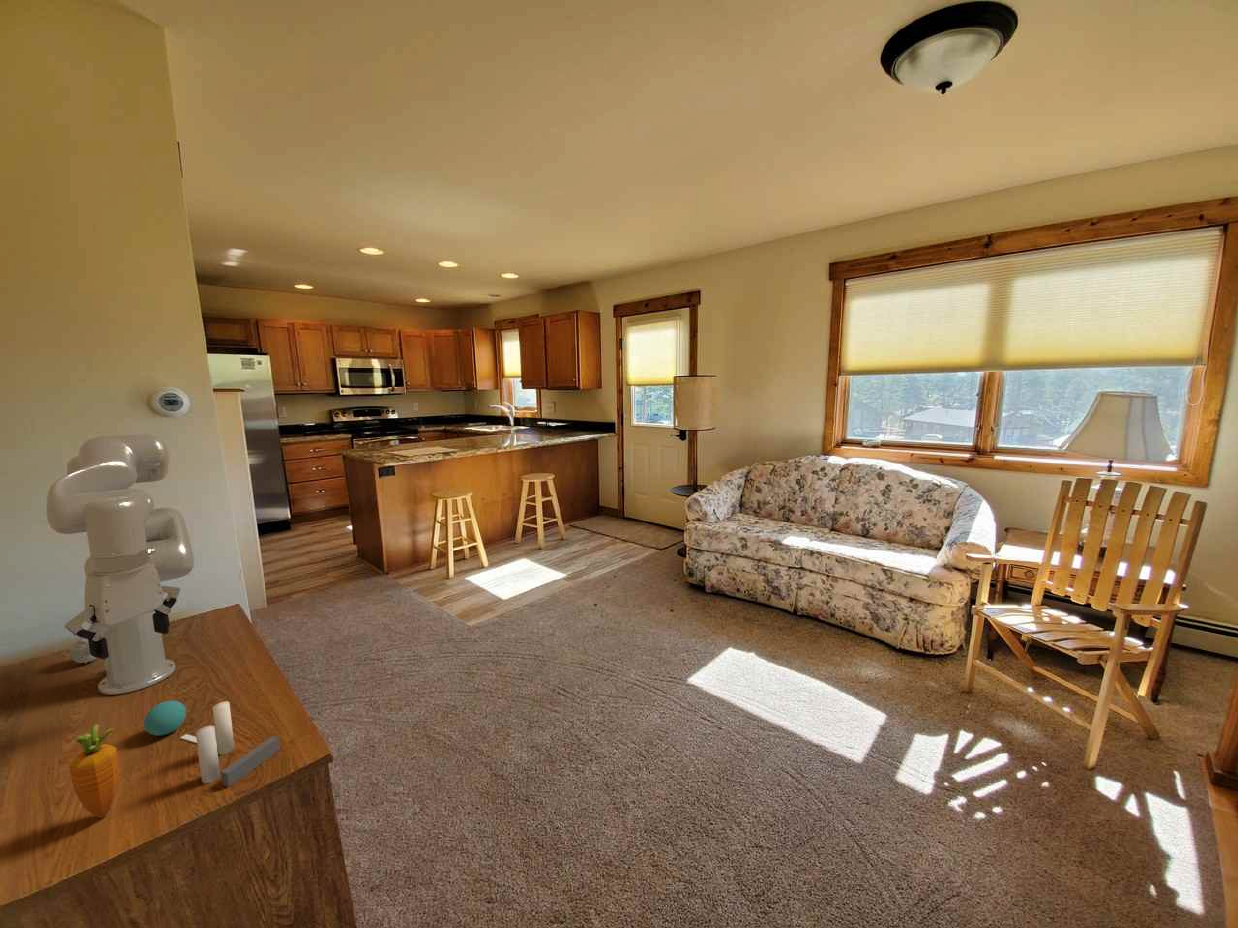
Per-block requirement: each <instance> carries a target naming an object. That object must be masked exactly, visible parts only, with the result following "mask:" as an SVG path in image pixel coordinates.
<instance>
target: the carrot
mask: <svg viewBox="0 0 1238 928" xmlns="http://www.w3.org/2000/svg"><path fill="white" fill-rule="evenodd" d="M90 732H91V733H85V734H84V735H80V736H78V737H77V738H76V740H75V742H77V743H79V744H80V745H81V746H82V749H83V751H81V752H80V753H78V754H77V755H76V757H75V758H74V759H73V760H72V761H71V763H70V764H69V773H70V774H69V775H70V777H71V782H72V785H73V789H74V792H75V794H76V796H77V799H78V800H79V802H80V803H81V805H82V807H83V808H84V809H86V811H87V812H89V813H91V815H93V816H95V817H96V818H99V819H103V818H105V817H106V816H107V815H108V813H109V811H110V809H111V807H112V805H113V803H114V801H115V799H116V795H117V792H118V788H119V787H118V785H119V781H120V780H119V779H120V767H119V766H120V764H119V755H118V749H117V747H116V746H114V745H110V744H108V743H107V744H106V743H104V744H102V743H103V740H105V739H106V737H107V736H108V735H109V734H111V733H112V732H114V729H113V728H109V729H106V730H105V731H104V732H103V733H102V734H100V736H99V738H98V735H99V734H98V733H99V724H95V725H93V726H92V727H91V731H90Z"/></svg>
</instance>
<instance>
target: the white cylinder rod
mask: <svg viewBox="0 0 1238 928" xmlns="http://www.w3.org/2000/svg"><path fill="white" fill-rule="evenodd" d="M195 737H196V739H197V743H196V745H197V746H196V747H197V755H198V760H199V761H198V762H199V770H200V776H201V777H200V778H201V783H202V784H210V783H213V782H214V781H216V780H217V779H219V778H220V776H221V771H220V763H219V754H218V749H217V745H216V743H217V741H216V733H215V725H207V726H203V727H201V728H199V729H198V730H197V731H196V732H195Z"/></svg>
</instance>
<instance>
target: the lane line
mask: <svg viewBox="0 0 1238 928" xmlns="http://www.w3.org/2000/svg"><path fill="white" fill-rule="evenodd" d="M179 738H180V739H181V740H183V741H188V742H191V743H194V744H197V739H196V736H194V735H190V734H187V733H185V734H184V735H182V736H180V737H179ZM216 745H217V742H216Z"/></svg>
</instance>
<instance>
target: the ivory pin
mask: <svg viewBox="0 0 1238 928" xmlns="http://www.w3.org/2000/svg"><path fill="white" fill-rule="evenodd" d="M231 712H232V711H231V704H230V701H227V700H226V701H221V702H218V703H216V704H214V705H213V706H212V714H213V715H212V716H213V722H214V725H213V726H214V729H215V737H216V743H217V753H218V755H223V756H224V755H226V754H229V753H231V752H233V750H234V749H235V739H234V732H233V723H232V715H231Z"/></svg>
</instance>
